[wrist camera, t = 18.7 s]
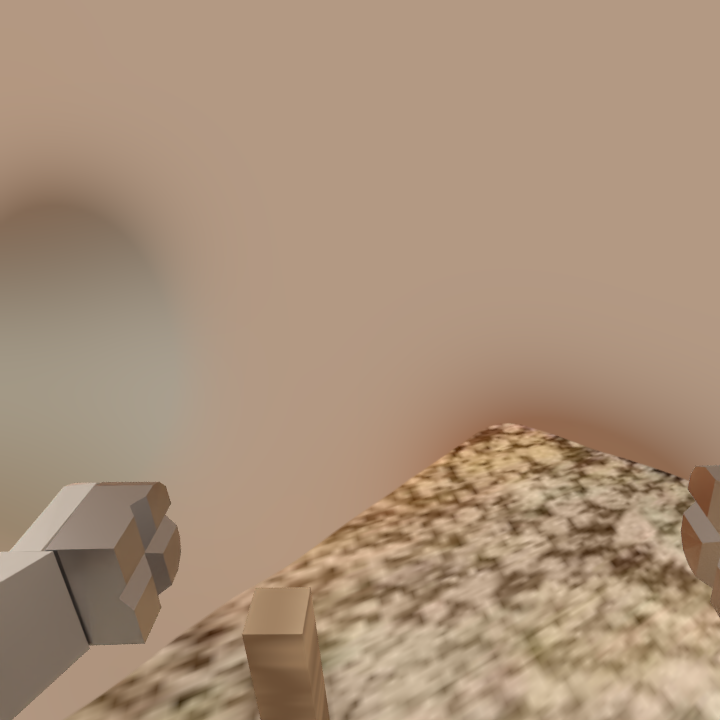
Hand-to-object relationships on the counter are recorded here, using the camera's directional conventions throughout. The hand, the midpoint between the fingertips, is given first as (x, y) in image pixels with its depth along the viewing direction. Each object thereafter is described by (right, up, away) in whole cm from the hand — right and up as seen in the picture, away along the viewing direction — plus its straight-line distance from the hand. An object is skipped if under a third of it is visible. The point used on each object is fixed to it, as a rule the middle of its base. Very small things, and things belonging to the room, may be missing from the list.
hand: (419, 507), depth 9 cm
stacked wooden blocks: (-3, -24, +23) cm, 33 cm away
